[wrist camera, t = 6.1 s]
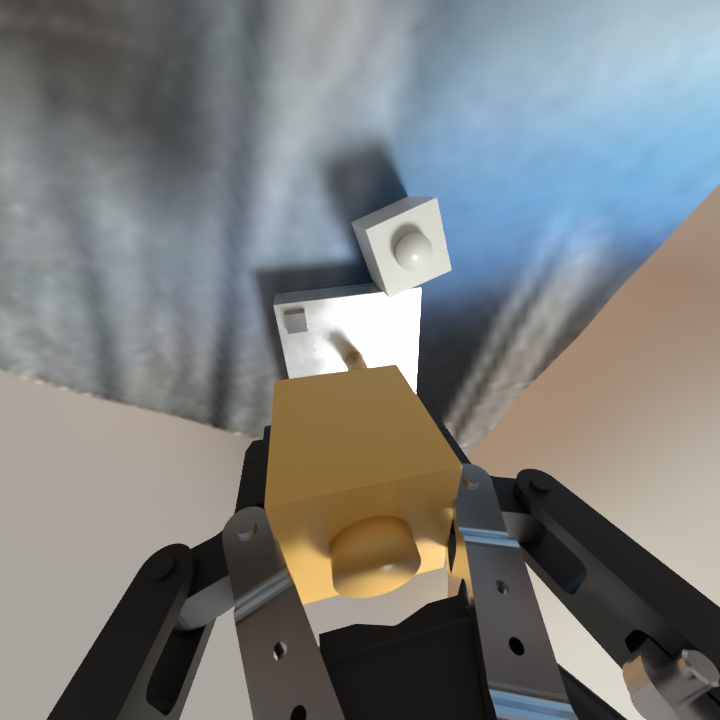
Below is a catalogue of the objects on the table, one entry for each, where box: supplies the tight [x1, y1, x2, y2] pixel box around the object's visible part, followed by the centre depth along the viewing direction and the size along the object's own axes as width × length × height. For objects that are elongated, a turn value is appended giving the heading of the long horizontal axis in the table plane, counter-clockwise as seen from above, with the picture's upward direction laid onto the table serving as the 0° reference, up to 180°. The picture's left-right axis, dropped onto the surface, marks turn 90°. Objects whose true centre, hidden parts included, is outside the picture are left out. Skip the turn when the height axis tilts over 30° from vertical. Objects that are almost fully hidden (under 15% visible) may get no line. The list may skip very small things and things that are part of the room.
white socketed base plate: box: [273, 282, 421, 393], centre depth 26 cm, size 12×12×7 cm
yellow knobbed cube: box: [264, 364, 463, 605], centre depth 10 cm, size 5×5×6 cm
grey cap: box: [351, 196, 451, 298], centre depth 22 cm, size 5×5×6 cm
